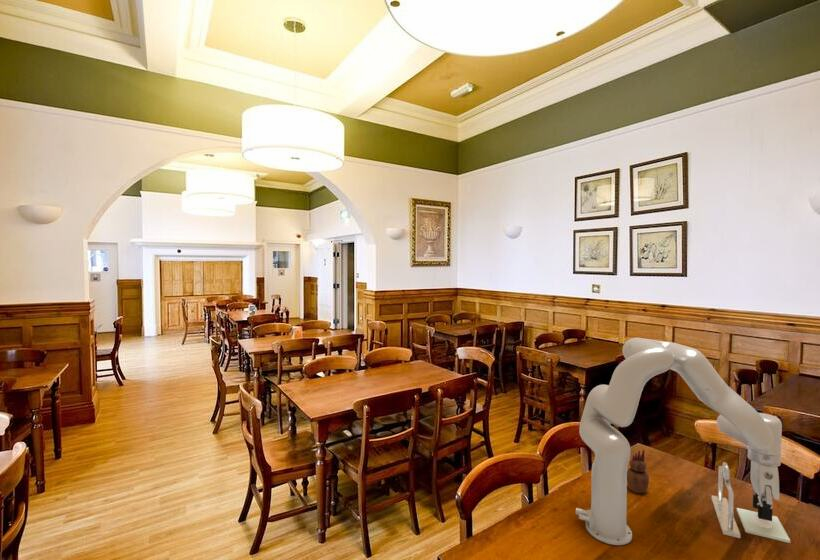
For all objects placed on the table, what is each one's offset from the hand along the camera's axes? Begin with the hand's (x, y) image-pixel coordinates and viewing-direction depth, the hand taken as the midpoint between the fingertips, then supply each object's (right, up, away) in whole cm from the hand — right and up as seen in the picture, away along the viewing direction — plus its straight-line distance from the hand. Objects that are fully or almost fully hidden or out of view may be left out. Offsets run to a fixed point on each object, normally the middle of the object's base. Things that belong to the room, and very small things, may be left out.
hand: (762, 513), depth 123 cm
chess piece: (0, -3, 0) cm, 3 cm away
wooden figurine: (-27, -4, +20) cm, 33 cm away
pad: (0, -4, 0) cm, 4 cm away
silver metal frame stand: (-8, -4, +5) cm, 10 cm away
